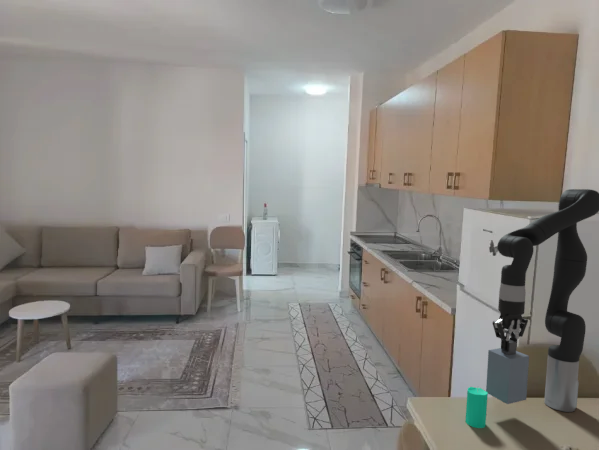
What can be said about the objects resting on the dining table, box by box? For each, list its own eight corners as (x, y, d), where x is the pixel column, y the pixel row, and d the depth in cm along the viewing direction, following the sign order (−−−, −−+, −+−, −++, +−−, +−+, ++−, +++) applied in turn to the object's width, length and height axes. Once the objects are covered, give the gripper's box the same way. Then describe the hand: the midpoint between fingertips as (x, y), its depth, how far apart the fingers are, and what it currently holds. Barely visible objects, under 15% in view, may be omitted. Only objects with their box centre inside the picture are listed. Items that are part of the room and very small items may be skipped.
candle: (487, 429, 130) (490, 391, 129) (467, 426, 131) (469, 389, 130) (483, 419, 136) (485, 383, 135) (463, 417, 137) (466, 381, 136)
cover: (504, 388, 144) (507, 335, 142) (526, 399, 136) (529, 343, 135) (486, 392, 140) (489, 338, 139) (507, 404, 133) (511, 346, 131)
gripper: (517, 293, 142) (514, 344, 143) (486, 296, 136) (483, 349, 138) (537, 299, 135) (534, 351, 136) (506, 302, 130) (502, 357, 131)
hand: (508, 350), depth 137 cm, fingers closed on cover, 3 cm apart
